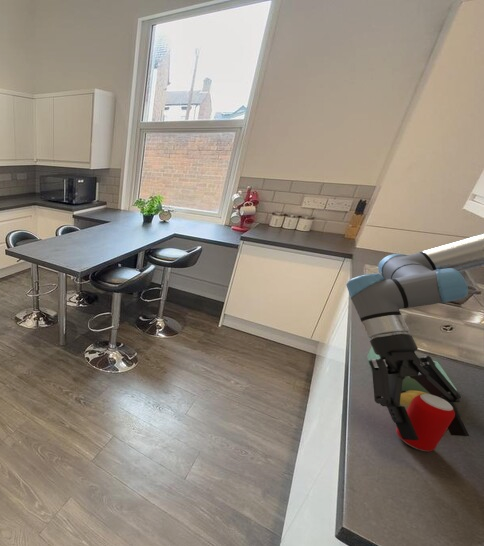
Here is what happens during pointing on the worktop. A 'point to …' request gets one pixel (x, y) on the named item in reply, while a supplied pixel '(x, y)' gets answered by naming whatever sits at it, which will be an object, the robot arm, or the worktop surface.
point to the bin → (409, 382)
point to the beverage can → (428, 420)
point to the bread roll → (409, 397)
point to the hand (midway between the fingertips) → (435, 437)
